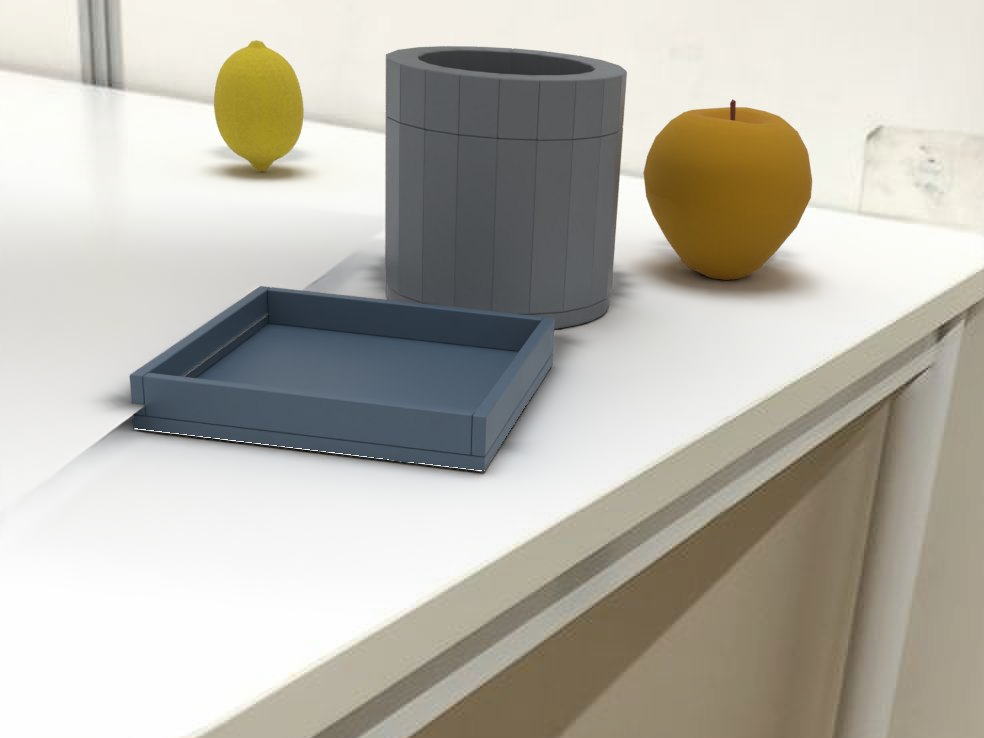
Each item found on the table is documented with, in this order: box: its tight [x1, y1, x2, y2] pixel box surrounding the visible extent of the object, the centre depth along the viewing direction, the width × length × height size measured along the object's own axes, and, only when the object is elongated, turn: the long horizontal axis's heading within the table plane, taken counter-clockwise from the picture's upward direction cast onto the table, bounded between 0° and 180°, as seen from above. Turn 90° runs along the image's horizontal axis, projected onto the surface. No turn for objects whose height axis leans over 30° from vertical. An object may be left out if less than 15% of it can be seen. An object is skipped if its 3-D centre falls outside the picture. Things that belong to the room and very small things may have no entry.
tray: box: [129, 285, 555, 471], centre depth 59 cm, size 13×13×2 cm
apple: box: [643, 99, 813, 281], centre depth 79 cm, size 9×9×9 cm
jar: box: [384, 45, 628, 330], centre depth 71 cm, size 11×11×11 cm
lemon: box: [213, 39, 304, 172], centre depth 95 cm, size 6×6×8 cm
